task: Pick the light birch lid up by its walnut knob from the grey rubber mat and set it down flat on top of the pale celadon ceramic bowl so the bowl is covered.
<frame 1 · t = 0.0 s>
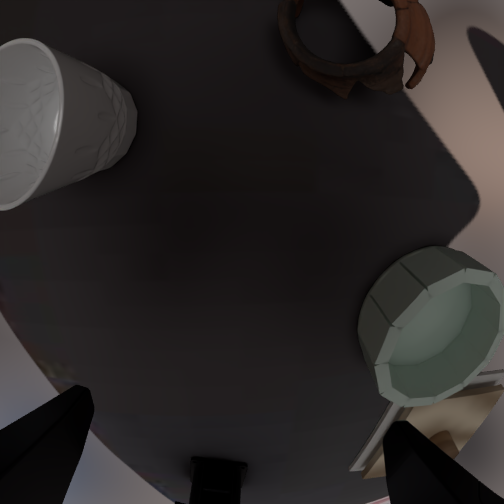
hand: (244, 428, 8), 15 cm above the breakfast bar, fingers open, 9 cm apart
lid: (431, 427, 28), point 1 cm above the breakfast bar, touching mat
bowl: (422, 314, 23), on the breakfast bar
mat: (429, 424, 28), on the breakfast bar
brown piece: (358, 33, 17), on the breakfast bar
white cup: (96, 125, 19), on the breakfast bar
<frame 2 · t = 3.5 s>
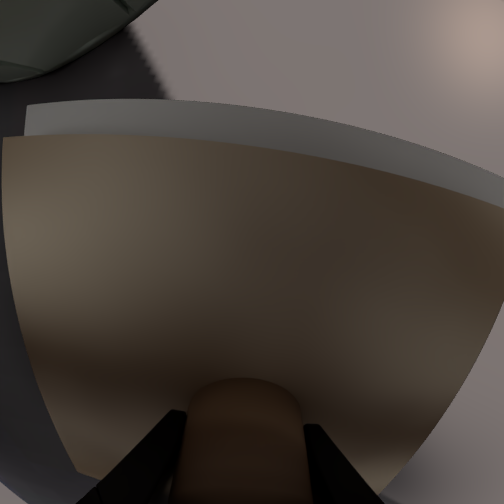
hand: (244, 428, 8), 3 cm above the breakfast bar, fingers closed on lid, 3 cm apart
lid: (245, 373, 10), point 1 cm above the breakfast bar, touching gripper, mat
mat: (246, 362, 10), on the breakfast bar
when the fingers open (8 cm above the breakfast bar, at t = 8.4 s): lid drops 1 cm, resting on bowl.
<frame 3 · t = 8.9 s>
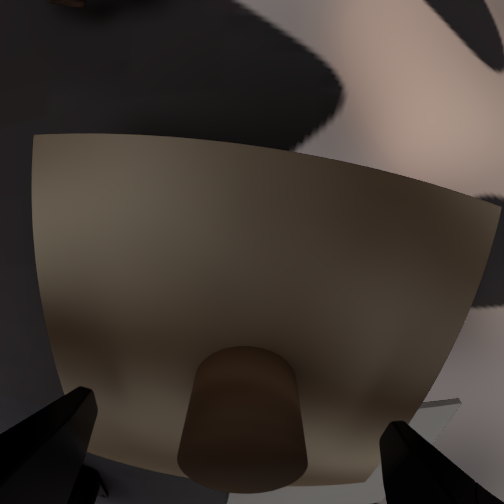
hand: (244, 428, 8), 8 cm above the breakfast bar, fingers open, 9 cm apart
lid: (246, 348, 11), point 4 cm above the breakfast bar, touching bowl
mat: (334, 467, 20), on the breakfast bar
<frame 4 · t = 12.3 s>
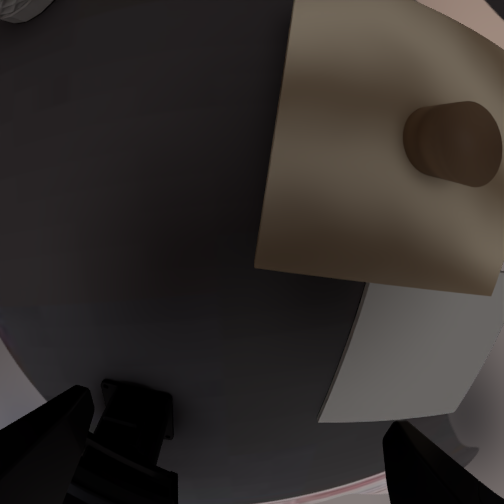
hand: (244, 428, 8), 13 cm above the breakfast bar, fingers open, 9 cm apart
lid: (412, 140, 13), point 4 cm above the breakfast bar, touching bowl
mat: (428, 351, 22), on the breakfast bar
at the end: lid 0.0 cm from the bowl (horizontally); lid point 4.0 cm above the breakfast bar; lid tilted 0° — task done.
